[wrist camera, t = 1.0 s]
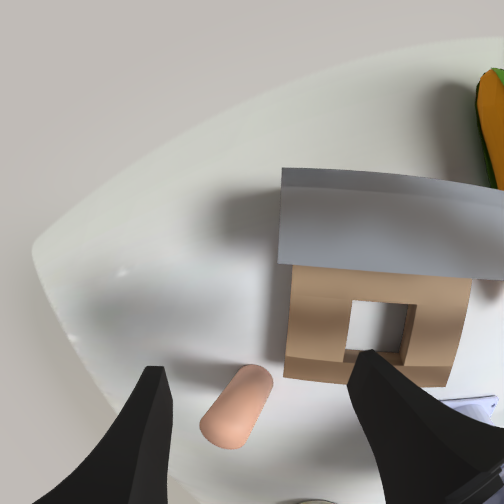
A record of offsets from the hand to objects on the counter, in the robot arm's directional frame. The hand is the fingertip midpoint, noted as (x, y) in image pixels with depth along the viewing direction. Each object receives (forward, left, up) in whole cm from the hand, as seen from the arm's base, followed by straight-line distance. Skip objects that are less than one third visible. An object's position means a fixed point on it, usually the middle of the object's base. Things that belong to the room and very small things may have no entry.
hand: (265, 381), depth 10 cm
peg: (-9, +4, -14) cm, 17 cm away
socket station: (+1, -6, -14) cm, 15 cm away
